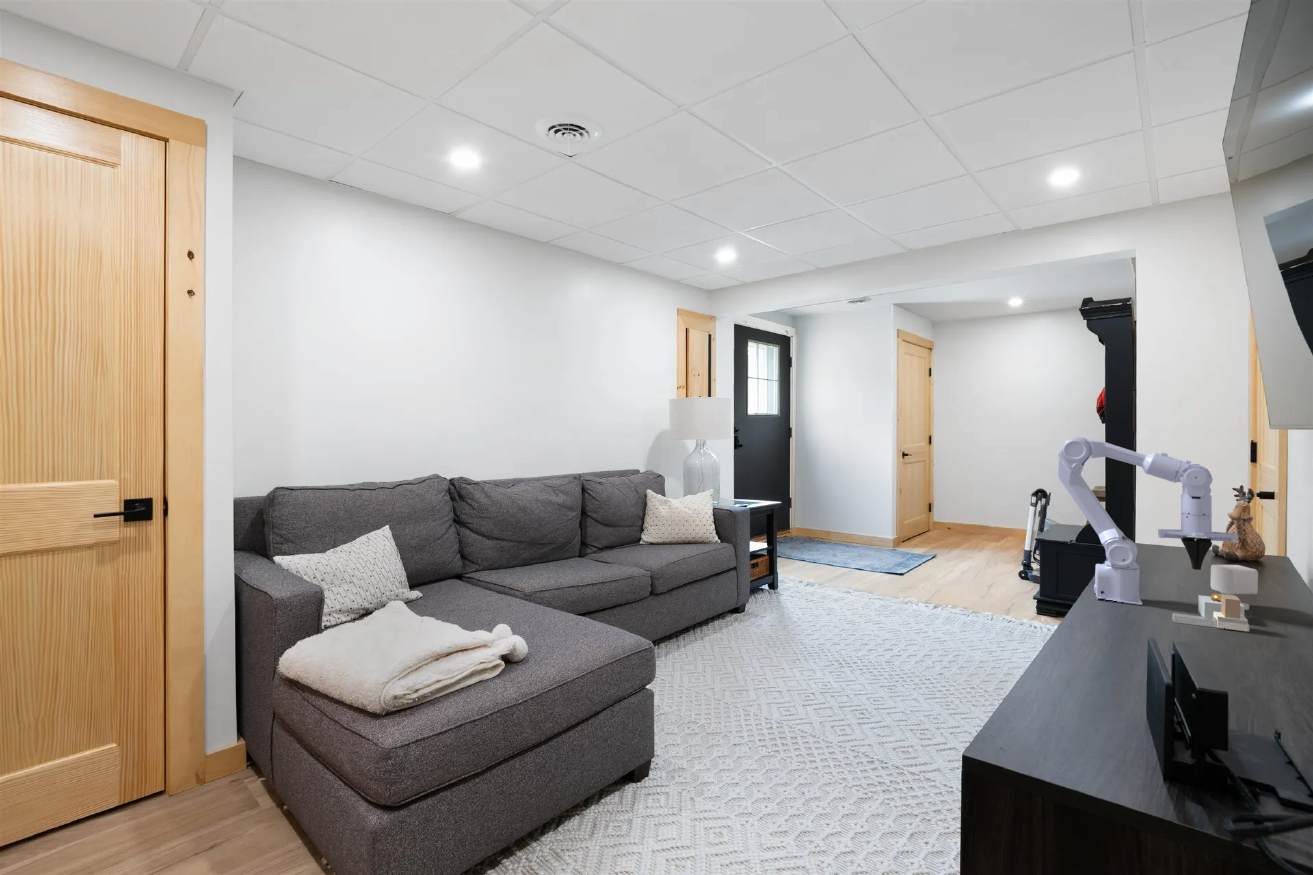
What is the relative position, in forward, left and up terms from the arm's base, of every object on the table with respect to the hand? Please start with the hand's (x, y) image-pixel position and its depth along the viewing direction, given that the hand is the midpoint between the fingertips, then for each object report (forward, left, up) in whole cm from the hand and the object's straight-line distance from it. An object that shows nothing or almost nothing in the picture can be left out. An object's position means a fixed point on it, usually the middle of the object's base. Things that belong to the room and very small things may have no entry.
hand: (1196, 568), depth 154 cm
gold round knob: (+4, -4, -10) cm, 11 cm away
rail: (0, -13, -10) cm, 16 cm away
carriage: (+4, -13, -10) cm, 17 cm away
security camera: (+8, +9, -11) cm, 16 cm away
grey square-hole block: (+4, -4, -10) cm, 12 cm away
